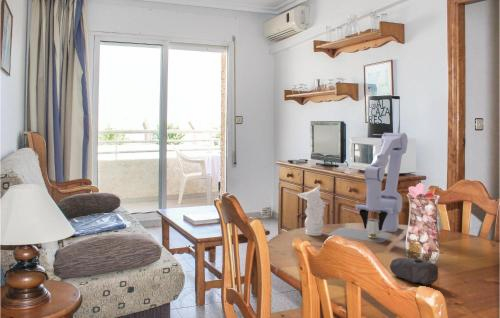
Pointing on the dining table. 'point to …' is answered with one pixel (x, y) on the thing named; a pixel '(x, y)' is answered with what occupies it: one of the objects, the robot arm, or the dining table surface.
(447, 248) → the dining table surface
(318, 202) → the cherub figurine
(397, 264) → the perforated stone tool
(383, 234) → the post board
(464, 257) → the dining table surface
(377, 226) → the steel collar
